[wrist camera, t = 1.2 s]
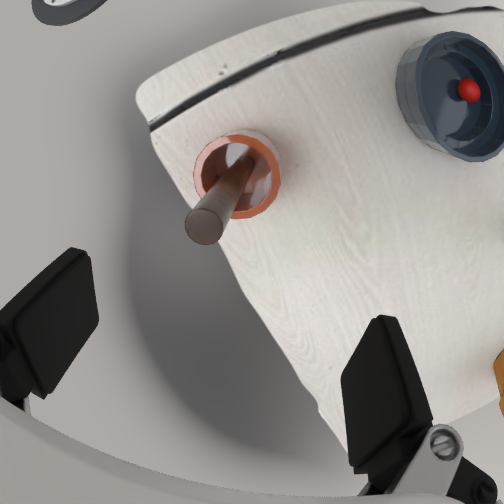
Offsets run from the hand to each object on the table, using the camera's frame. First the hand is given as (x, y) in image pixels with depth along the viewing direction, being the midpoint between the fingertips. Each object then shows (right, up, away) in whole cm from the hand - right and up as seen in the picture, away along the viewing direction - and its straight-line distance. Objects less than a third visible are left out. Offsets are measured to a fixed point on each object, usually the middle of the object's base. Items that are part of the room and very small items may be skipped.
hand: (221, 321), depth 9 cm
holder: (0, +12, +24) cm, 27 cm away
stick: (0, +12, +23) cm, 26 cm away
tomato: (+26, +21, +15) cm, 37 cm away
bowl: (+24, +21, +17) cm, 36 cm away
